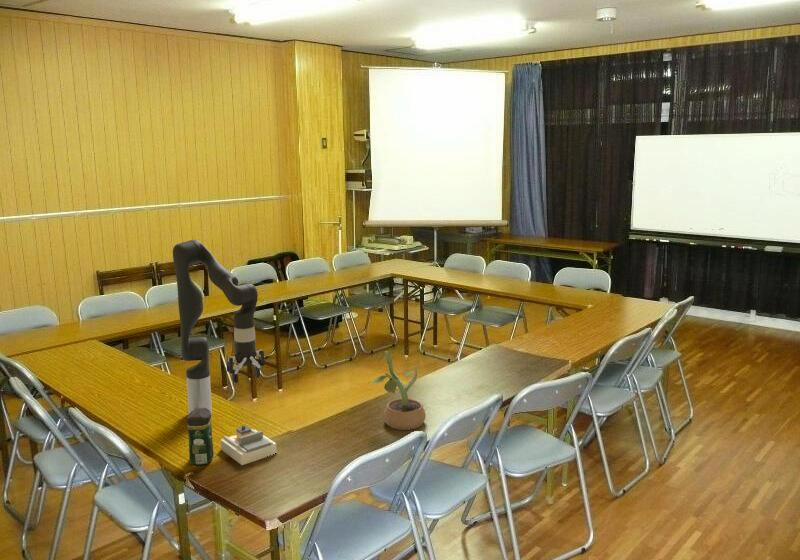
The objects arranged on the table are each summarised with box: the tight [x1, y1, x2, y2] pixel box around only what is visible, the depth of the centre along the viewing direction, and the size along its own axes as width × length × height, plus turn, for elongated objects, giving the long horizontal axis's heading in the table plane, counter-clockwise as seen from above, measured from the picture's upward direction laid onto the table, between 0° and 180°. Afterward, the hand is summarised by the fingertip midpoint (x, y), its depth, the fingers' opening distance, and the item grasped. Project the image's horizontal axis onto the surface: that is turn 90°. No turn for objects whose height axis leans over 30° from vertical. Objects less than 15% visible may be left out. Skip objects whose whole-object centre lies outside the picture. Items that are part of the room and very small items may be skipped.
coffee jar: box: [186, 408, 214, 466], centre depth 242 cm, size 10×8×19 cm
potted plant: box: [370, 350, 427, 431], centre depth 274 cm, size 22×18×30 cm
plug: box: [235, 424, 251, 442], centre depth 251 cm, size 4×4×9 cm
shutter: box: [239, 430, 270, 452], centre depth 245 cm, size 6×9×3 cm
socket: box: [220, 427, 278, 466], centre depth 250 cm, size 16×14×5 cm
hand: (246, 380), depth 253 cm, fingers open, 8 cm apart
